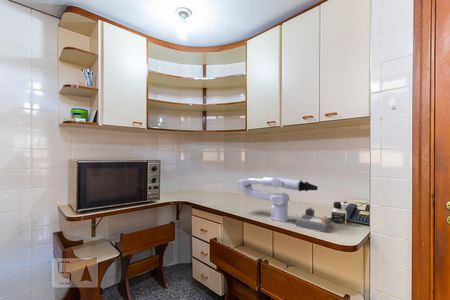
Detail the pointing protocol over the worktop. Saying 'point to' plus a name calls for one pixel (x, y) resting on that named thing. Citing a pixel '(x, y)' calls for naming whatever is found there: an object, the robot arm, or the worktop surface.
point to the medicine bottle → (339, 213)
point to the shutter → (319, 219)
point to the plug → (310, 212)
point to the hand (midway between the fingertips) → (315, 188)
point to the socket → (313, 223)
